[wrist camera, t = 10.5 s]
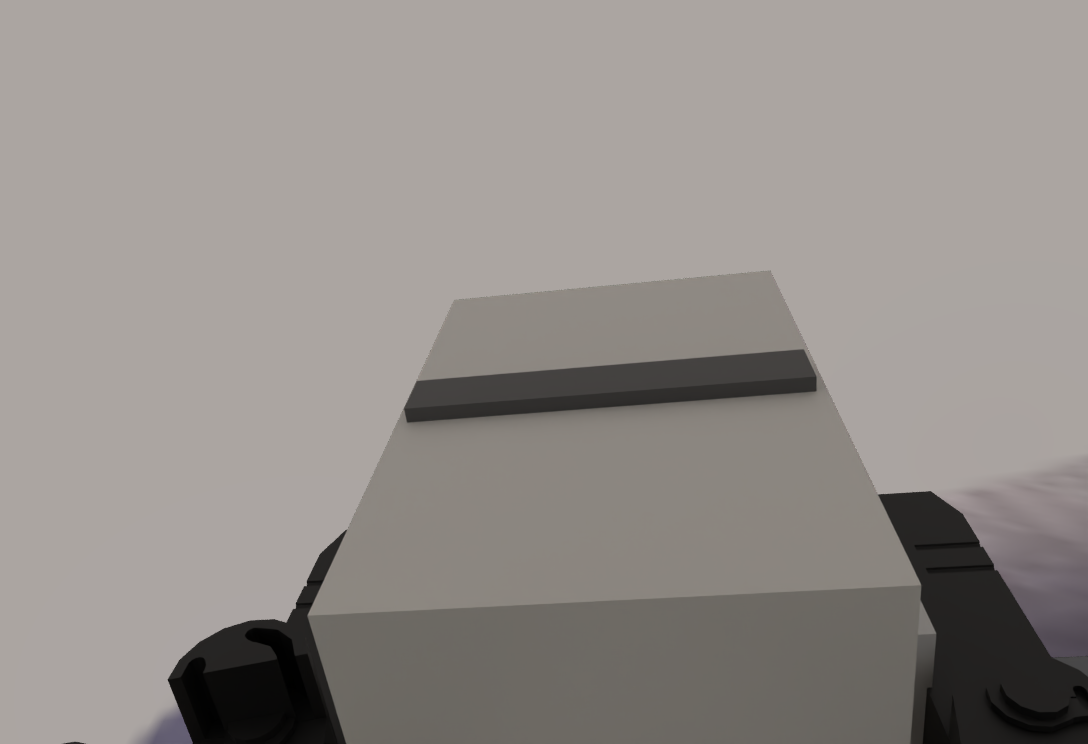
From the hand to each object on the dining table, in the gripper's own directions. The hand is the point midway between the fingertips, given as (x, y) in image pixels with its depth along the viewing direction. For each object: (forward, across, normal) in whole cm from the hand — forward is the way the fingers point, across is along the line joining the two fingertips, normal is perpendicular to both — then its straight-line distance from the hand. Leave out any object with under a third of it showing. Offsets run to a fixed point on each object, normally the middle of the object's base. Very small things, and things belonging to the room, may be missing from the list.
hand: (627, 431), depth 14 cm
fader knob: (-5, 0, -7) cm, 8 cm away
